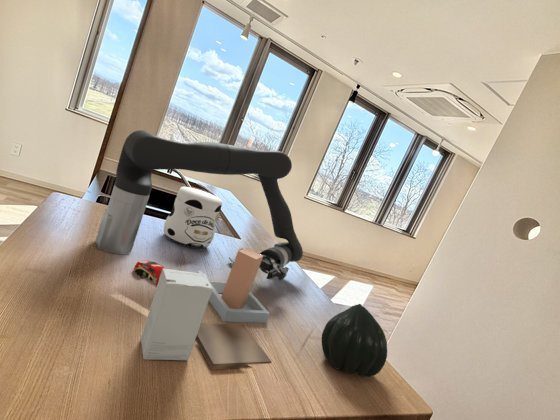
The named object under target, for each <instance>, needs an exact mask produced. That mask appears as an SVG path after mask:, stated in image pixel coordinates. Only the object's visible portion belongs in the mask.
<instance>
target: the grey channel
mask: <svg viewBox="0 0 560 420" xmlns="http://www.w3.org/2000/svg"><path fill="white" fill-rule="evenodd" d="M196 273H202V274H204V273H203V271H200V270H198V271H197V272H196ZM208 281H209V283H210V285H211V287H212V288H213V290H212V293H211V296H210V298H209V301H208V302H210V304H211V306H212V307H213V308H214V310H215V311H216V313H217V314H218V315H219V317H220V318H221V320H222V321H223V322H232V323H233V322H236V323H260V324H261V323H263V324H264V323H265V324H267V323H268V320H269V318H270V315H271V313H270V311H269V310H268V309H266V308H265V306H264V305H263V303H261V301H260V300H259V299H258V298H257V297H256V296H255V295H254V294H253V293H252V291H250V293H249V295H248V298H247V300H246V303H245V306H243V307H242V308H241V309H231V308H229V307H228V306H227V304H226V303H225V302H224V300H223V299H222V298H221V296H222V294H223V291H224V288H225V285H226V283H227V282H223V281H211V280H209V279H208Z"/></svg>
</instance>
